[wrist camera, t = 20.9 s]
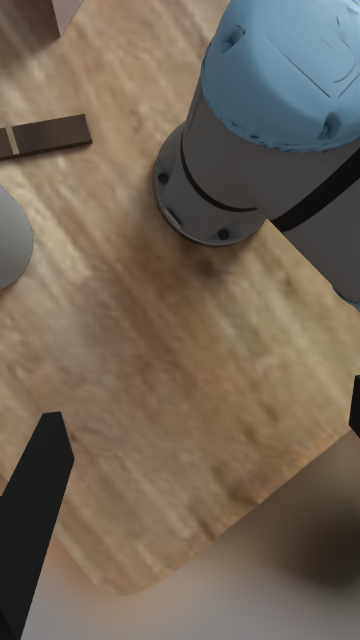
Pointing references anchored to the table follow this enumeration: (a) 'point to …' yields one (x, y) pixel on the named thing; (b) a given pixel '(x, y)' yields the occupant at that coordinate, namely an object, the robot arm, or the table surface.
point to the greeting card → (65, 12)
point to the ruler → (44, 136)
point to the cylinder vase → (13, 239)
